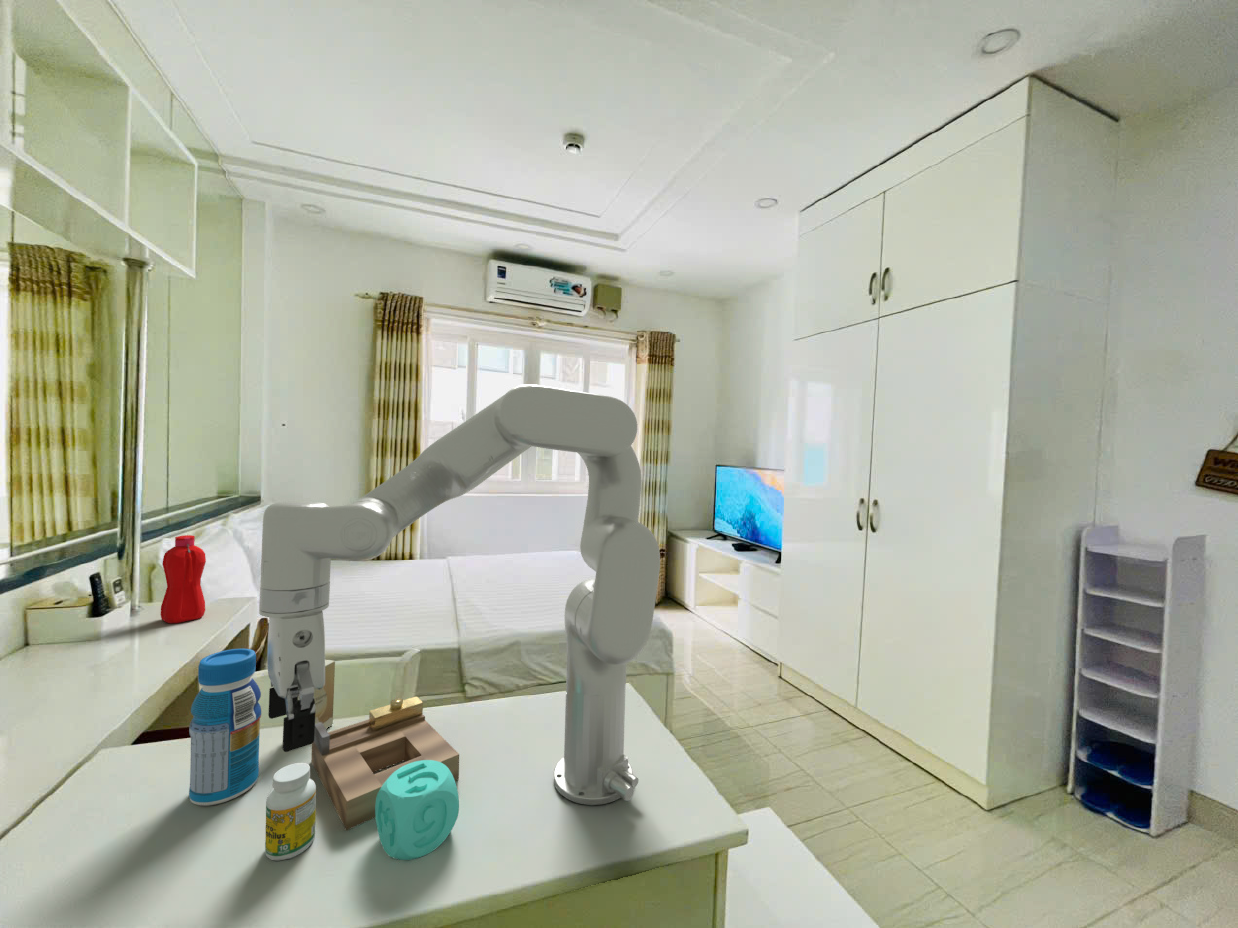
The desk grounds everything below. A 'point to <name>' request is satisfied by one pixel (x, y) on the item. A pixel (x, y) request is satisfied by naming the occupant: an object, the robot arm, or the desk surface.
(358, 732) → the socket block
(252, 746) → the beverage bottle
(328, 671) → the skincare box
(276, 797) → the supplement bottle
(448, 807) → the decorative dice
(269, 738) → the desk surface
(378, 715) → the latch bar
